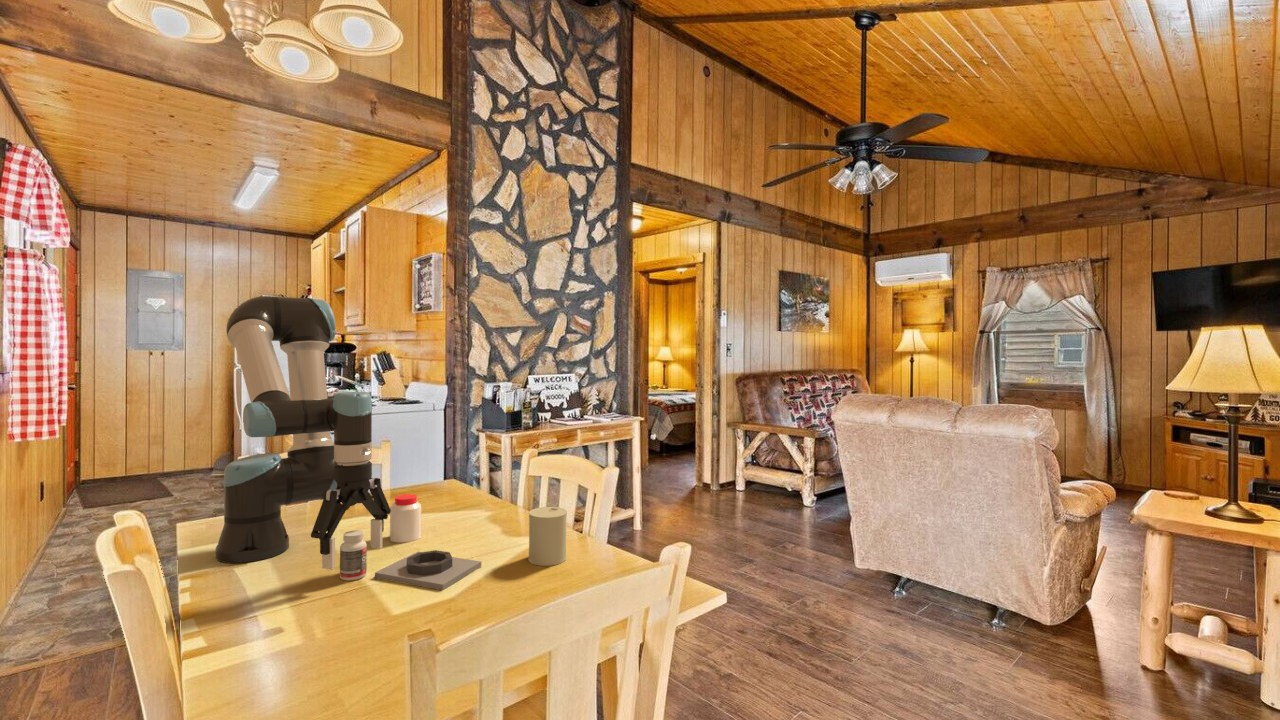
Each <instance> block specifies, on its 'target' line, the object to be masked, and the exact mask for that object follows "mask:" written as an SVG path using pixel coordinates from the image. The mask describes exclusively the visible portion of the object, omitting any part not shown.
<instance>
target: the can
mask: <svg viewBox="0 0 1280 720" xmlns="http://www.w3.org/2000/svg"><path fill="white" fill-rule="evenodd" d="M567 514H568V513H567V509H565V508H562V507H560V506H559V507H557V506H542V507H536V508H533V509H530V511H529V512H528V518H529V519H528V525H529V526H528V529H529V530H528V531H529V532H528V533H529V534H528V540H529V541H528V559H527V560H528V562H529V563H530V564H532V565H534V566H541V567H548V566H549V567H553V566H557V565H560V564H563V563H564V562H566V561H567V558H568V557H567ZM562 562H563V563H562Z"/></svg>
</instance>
